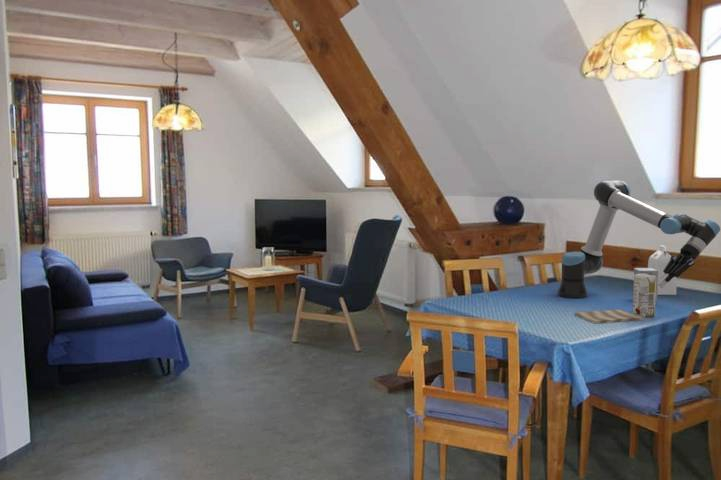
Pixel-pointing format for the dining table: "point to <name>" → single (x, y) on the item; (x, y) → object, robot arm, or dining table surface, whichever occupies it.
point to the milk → (659, 264)
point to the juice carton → (644, 295)
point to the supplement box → (650, 272)
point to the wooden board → (609, 316)
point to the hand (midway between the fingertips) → (659, 285)
